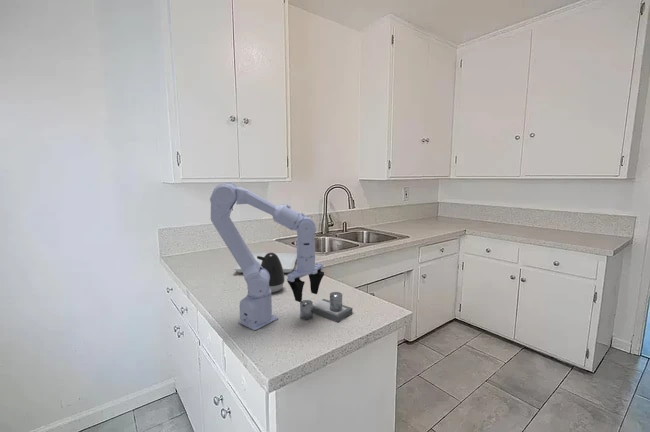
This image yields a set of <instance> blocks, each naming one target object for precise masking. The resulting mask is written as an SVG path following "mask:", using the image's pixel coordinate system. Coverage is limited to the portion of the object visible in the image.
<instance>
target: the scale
mask: <svg viewBox="0 0 650 432" xmlns="http://www.w3.org/2000/svg"><path fill="white" fill-rule="evenodd" d="M352 314H353V307H350V306H349V305H348V306H347V305H345V304H342V311H340V312H333V311H331V310H330V299H325V298H322V299H321V300H319V301H317V302H315V303H313V315H317V316H320V317H323V318H326V319H328V320H331V321H333V322H336V323H339V322H341V321H343V320H344V319H345V318H347V317H349V316H350V315H352Z"/></svg>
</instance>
